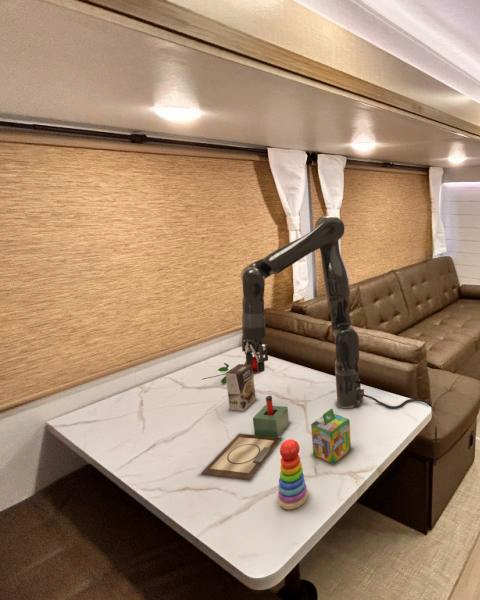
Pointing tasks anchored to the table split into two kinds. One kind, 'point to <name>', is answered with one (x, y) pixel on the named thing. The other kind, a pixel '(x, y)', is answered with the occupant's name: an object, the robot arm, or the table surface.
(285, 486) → the stacking toy
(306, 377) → the table surface
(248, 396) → the coffee box
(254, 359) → the flower
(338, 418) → the chalk box
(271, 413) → the marker
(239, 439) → the clipboard
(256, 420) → the pen holder
